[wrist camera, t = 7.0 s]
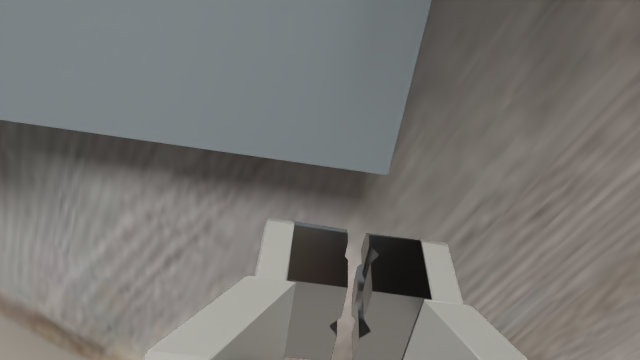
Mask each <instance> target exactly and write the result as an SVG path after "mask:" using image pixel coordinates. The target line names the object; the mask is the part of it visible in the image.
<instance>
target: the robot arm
mask: <svg viewBox="0 0 640 360" xmlns="http://www.w3.org/2000/svg"><path fill="white" fill-rule="evenodd" d="M293 231H294V232H293ZM292 238H293V239H292ZM347 243H348V233H347V230H345V229H338V228H332V227H326V226H320V225H314V224H307V223H301V222H295V226H294V222H293V221H287V220H280V219H274V218H268V219H267V221H266V225H265V229H264V234H263V239H262V243H261V248H260V253H259V257H258V262H257V267H256V271H255V276H245V277H244V278H243V279H241V280H240V281H239V282H237V283H236V284H235V285H233V286H232V287H231V288H229V289H228V290H227V291H225V292H224V293H223V294H221V295H220V296H219V297H217V298H216V299H215V300H213V301H212V302H211V303H209V304H208V305H207V306H205V307H204V308H203V309H202V310H200V311H199V312H198V313H196V314H195V315H194V316H192V317H191V318H190V319H188V320H187V321H186V322H184V323H183V324H182V325H180V326H179V327H178V328H176V329H175V330H174V331H172V332H171V333H170V334H168V335H167V336H166V337H164V338H163V339H162V340H161V341H159V342H158V343H157V344H155V345H154V346H153V347H151V348H150V349H149V350H147V353H146V355H145V358H144V360H284V357H293V358H303V359H313V360H331V357H332V353H333V349H334V345H335V341H336V336H337V320H338V319H339V318H341V315H342V311H343V306H344V302H345V297H346V293H347V288H348V260H347V259H346V257H345V253H346V248H347ZM361 254H362V264H361V265H359V266H358V267H357V270H356V275H355V279H354V285H353V292H352V317H353V318H354V319H355V324H354V328H353V332H352V360H528V359H527V358H526V357H525V356H524V355H523V354H522V353H521V352H520V351H519V350H518V349H516V348H515V347H514V346H513V345H512V344H511V343H510V342H509V341H508V340H507V339H506V338H505V337H504V336H503V335H502V334H501V333H500V332H499V331H498V330H497V329H495V328H494V327H493V326H492V325H491V324H490V323H489V322H488V321H487V320H486V319H485V318H484V317H483V316H482V315H481V314H480V313H479V312H478V311H477V310H476V309H474V308H473V307H472V306H469V305H464V303H463V300H462V296H461V292H460V288H459V285H458V281H457V277H456V274H455V270H454V266H453V262H452V259H451V255H450V251H449V247H448V245H447V244H446V243H445V242H440V241H431V240H422V239H419V240H415V239H407V238H400V237H392V236H385V235H378V234H370V233H366V235H365V238H364V241H363V245H362V249H361Z"/></svg>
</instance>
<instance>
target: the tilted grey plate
mask: <svg viewBox="0 0 640 360" xmlns="http://www.w3.org/2000/svg"><path fill="white" fill-rule="evenodd" d="M431 2H432V0H0V120H5V121H12V122H19V123H26V124H33V125H40V126H47V127H54V128H61V129H68V130H75V131H82V132H89V133H96V134H103V135H110V136H117V137H124V138H131V139H137V140H144V141H151V142H158V143H165V144H172V145H179V146H186V147H193V148H200V149H207V150H214V151H221V152H228V153H235V154H242V155H249V156H256V157H263V158H270V159H277V160H284V161H291V162H298V163H305V164H312V165H319V166H326V167H333V168H340V169H347V170H354V171H361V172H368V173H375V174H382V175H388V173H389V169H390V165H391V161H392V157H393V153H394V149H395V145H396V141H397V137H398V133H399V129H400V125H401V121H402V117H403V113H404V109H405V105H406V101H407V97H408V93H409V89H410V85H411V81H412V77H413V73H414V69H415V65H416V61H417V57H418V53H419V49H420V45H421V41H422V37H423V34H424V30H425V26H426V22H427V18H428V14H429V10H430V6H431Z"/></svg>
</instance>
